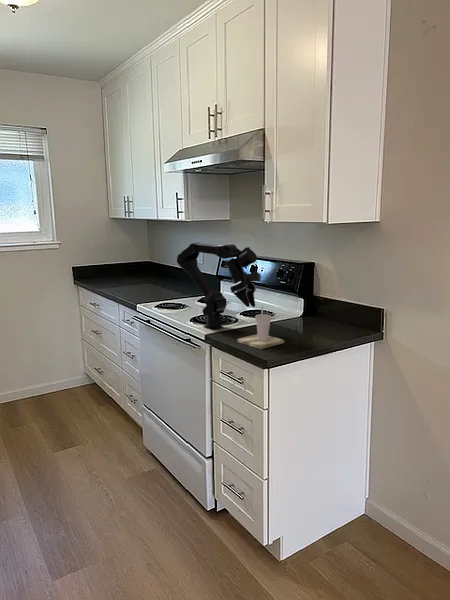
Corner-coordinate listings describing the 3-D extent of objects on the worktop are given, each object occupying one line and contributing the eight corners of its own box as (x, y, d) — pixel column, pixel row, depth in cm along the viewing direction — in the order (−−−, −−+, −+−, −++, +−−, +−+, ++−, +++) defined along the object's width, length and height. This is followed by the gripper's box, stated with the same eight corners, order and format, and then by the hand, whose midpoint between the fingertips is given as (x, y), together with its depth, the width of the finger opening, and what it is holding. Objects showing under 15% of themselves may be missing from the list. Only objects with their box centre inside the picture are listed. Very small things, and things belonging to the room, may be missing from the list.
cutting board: (237, 341, 181) (237, 338, 180) (260, 336, 189) (260, 333, 189) (261, 349, 171) (261, 346, 171) (283, 342, 180) (283, 339, 179)
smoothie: (254, 337, 183) (254, 303, 180) (269, 337, 183) (270, 303, 180) (255, 342, 176) (256, 306, 174) (272, 342, 176) (272, 306, 174)
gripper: (248, 262, 179) (263, 298, 177) (259, 266, 196) (273, 299, 194) (223, 273, 182) (238, 309, 180) (237, 276, 200) (250, 309, 197)
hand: (251, 306), depth 188 cm, fingers open, 9 cm apart
